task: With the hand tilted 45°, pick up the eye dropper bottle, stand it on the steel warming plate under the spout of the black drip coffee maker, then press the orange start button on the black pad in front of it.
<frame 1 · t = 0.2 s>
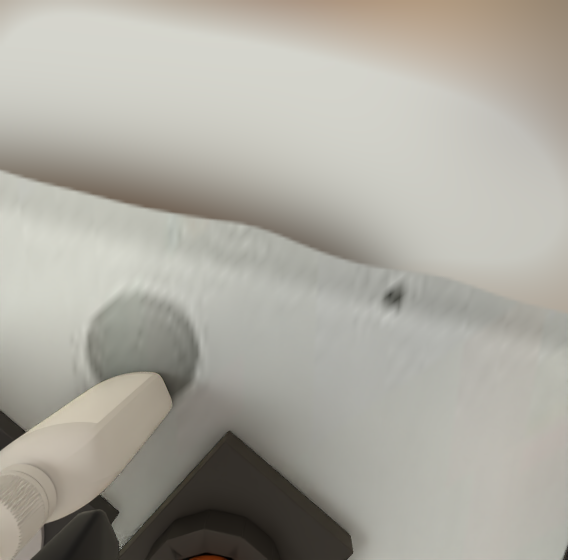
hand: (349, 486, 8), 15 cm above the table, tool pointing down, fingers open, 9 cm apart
eye dropper bottle: (125, 403, 24), on the table
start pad: (220, 557, 24), on the table
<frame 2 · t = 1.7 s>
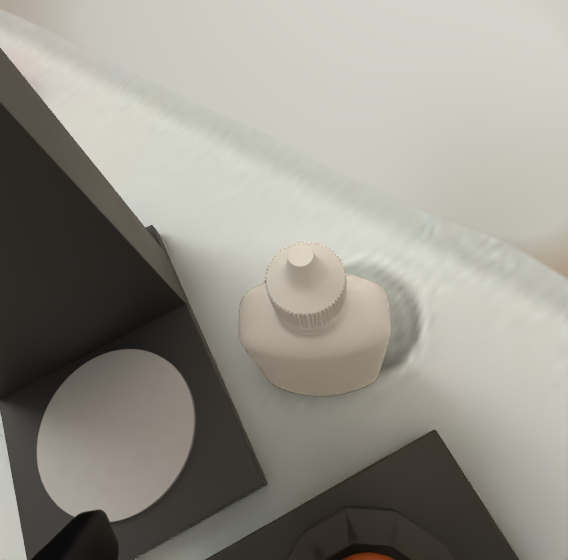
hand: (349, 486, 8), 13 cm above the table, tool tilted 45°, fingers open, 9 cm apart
coffee maker: (126, 431, 22), on the table
eye dropper bottle: (322, 364, 22), on the table
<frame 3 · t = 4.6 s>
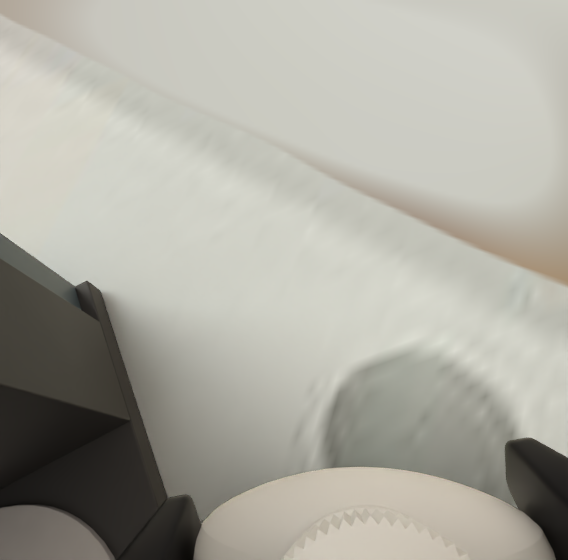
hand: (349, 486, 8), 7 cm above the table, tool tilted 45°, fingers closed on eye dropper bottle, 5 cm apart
eye dropper bottle: (357, 534, 13), on the table, touching gripper
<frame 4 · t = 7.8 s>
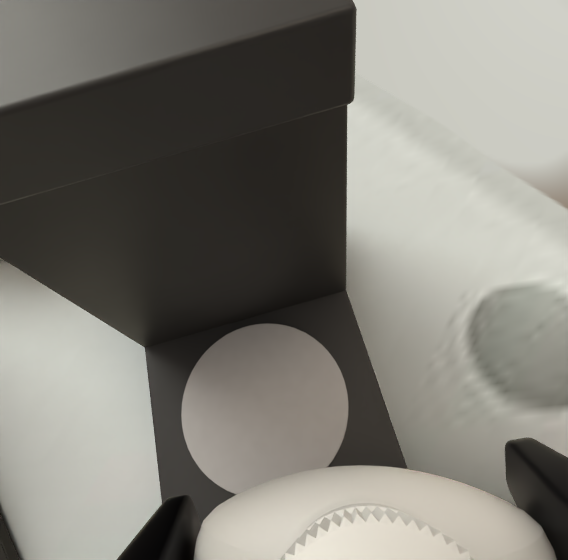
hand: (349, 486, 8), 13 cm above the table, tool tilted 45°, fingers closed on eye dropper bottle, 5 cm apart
coffee maker: (267, 407, 21), on the table
eye dropper bottle: (357, 533, 13), point 7 cm above the table, touching gripper
when the fingers open (8 cm above the table, at t = 11.5 s): eye dropper bottle stays where it is, resting on coffee maker.
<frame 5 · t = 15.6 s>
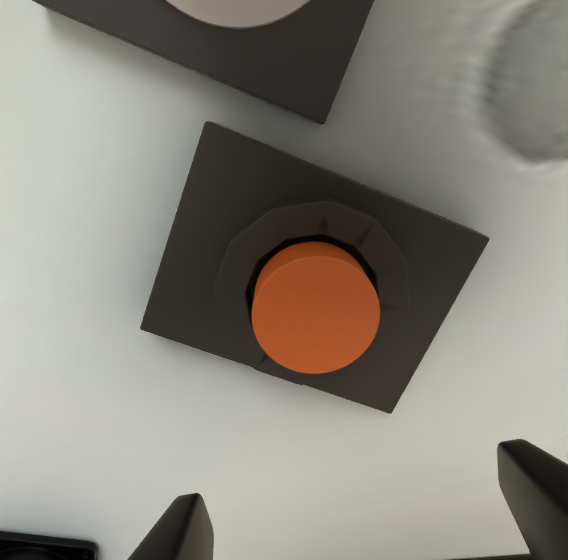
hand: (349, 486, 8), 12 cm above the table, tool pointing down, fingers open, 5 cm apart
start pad: (307, 274, 19), on the table
start button: (313, 306, 16), point 4 cm above the table, slide at 0.1 cm
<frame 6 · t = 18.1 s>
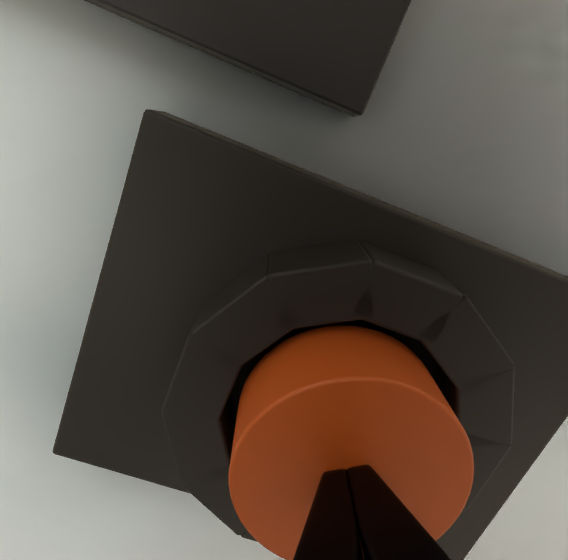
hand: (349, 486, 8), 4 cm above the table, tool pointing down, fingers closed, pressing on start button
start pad: (325, 358, 12), on the table
start button: (343, 445, 9), point 3 cm above the table, slide at -0.1 cm, touching gripper
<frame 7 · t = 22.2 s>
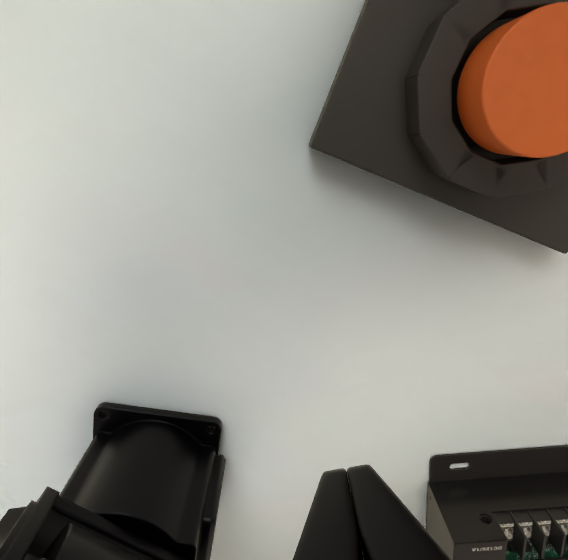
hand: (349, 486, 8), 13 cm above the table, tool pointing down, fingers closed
black printed box: (523, 538, 26), on the table
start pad: (484, 95, 18), on the table
start button: (534, 87, 14), point 4 cm above the table, slide at 0.1 cm
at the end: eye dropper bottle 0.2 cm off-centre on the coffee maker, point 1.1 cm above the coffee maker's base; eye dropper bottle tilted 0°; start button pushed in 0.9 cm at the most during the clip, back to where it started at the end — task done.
